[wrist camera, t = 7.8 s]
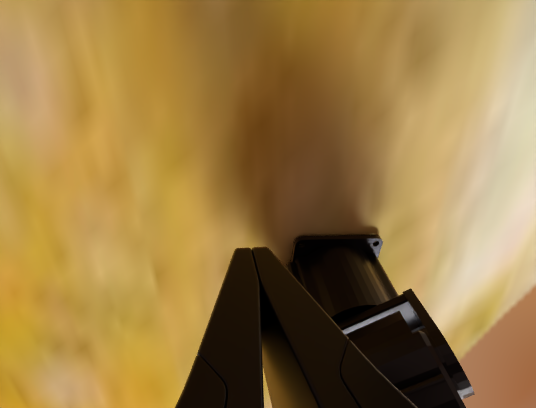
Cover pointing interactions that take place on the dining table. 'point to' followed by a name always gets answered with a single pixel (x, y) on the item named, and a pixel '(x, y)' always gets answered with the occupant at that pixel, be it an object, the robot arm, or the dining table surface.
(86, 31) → the dining table surface
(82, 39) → the dining table surface
